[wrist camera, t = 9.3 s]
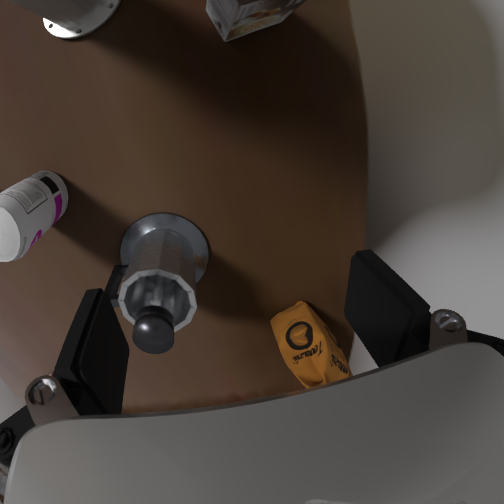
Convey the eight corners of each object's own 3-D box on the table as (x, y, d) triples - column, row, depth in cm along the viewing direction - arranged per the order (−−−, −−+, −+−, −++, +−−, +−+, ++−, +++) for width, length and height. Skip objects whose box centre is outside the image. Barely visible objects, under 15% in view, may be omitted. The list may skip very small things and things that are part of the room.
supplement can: (77, 210, 39) (35, 255, 26) (39, 226, 39) (-7, 273, 26) (59, 161, 35) (6, 188, 22) (21, 181, 35) (-34, 215, 22)
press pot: (108, 221, 41) (82, 261, 30) (202, 206, 43) (206, 242, 32) (130, 297, 47) (118, 350, 36) (213, 286, 49) (221, 338, 38)
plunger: (138, 249, 41) (117, 320, 27) (178, 243, 41) (174, 313, 28) (147, 284, 43) (135, 361, 30) (185, 279, 44) (186, 355, 30)
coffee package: (308, 290, 54) (361, 381, 34) (330, 329, 60) (377, 411, 40) (261, 318, 55) (295, 416, 35) (289, 353, 60) (324, 439, 41)
